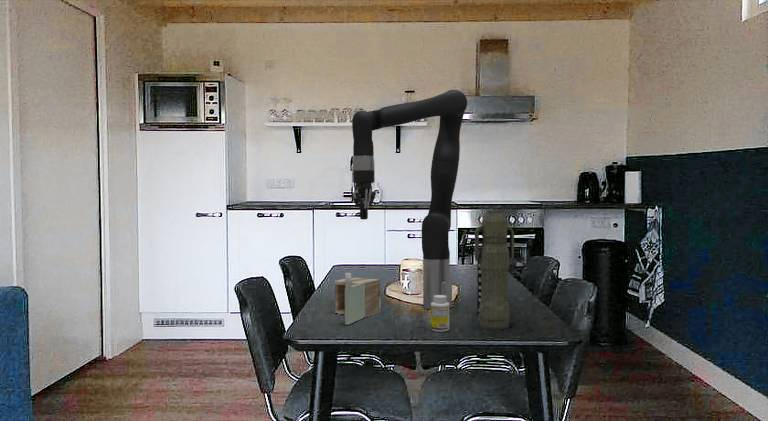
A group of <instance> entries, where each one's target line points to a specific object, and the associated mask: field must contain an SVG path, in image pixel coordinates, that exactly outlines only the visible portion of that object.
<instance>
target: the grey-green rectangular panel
mask: <svg viewBox="0 0 768 421" xmlns="http://www.w3.org/2000/svg"><path fill="white" fill-rule="evenodd" d="M344 274H345V275H344V279H345V315H344V324H345V325H347V326H348V325H350V324H353V323H355V322H357V321H360V320H362V319H365V318H366V317H365V283H364V282H363V283H359V284H356V285H353V286H351V277H352V273H351V272H345V273H344ZM364 317H365V318H364Z"/></svg>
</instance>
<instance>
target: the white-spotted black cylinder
mask: <svg viewBox="0 0 768 421" xmlns="http://www.w3.org/2000/svg"><path fill="white" fill-rule="evenodd" d="M479 257H480V253H479ZM476 265H477V266H476V269H477V270H476V273H477V274H476V278H477V279H476V280H477V281H476V282H477V283H476V287H477V288H476V291H477V292H476V294H477V296H476V306H477V307H476V310H477V311H476V316H477V317H479V318H480V302H481V269H480V262H479V261H476Z"/></svg>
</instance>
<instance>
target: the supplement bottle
mask: <svg viewBox="0 0 768 421" xmlns="http://www.w3.org/2000/svg"><path fill="white" fill-rule="evenodd" d="M433 301H434V302H432V303H431V309H430V328H431V330H432V331H433V332H436V333H437V332H438V333H446V332H449V330H450V329H451V328H450V326H451V325H450V323H451V322H450V320H451V319H450V318H451V315H450V305H449V303H448V302H447V296H445V295H435V296H433Z"/></svg>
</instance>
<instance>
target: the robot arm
mask: <svg viewBox="0 0 768 421" xmlns="http://www.w3.org/2000/svg"><path fill="white" fill-rule="evenodd" d="M467 107H468V99H467V97H466V95H465V94H464V92H462V91H461V90H458V89H449V90H448V91H445V92H443V93H440V94H437V95H435V96H431V97H428V98H425V99H420V100H415V101H410V102H403V103H398V104H394V105H393V104H392V105H387V106H384V107H380V108H379V109H375V110H370V111H367V110H363V109H362V110H359V111H357V112H355V113H354V114H353V116H352V120H351V128H352V138H353V148H352V149H353V150H352V151H353V156H352V183H354V184H355V186H354V189H355V190H354V192H351V194H350V195H351V198H352V200H353V202H354V204H355V207H357V208H358V209H359V217H360V218H359V219H360V220H369V219H368V218H369V217H368V216H369V208H370V207H372V206H373V202H374V200H375V198H376V195H377V193H376V191H373V186H372V184H374V183H375V178H376V177H375V155H374V150H375V149H374V148H375V147H374V140H373V131H376V130H381V129H383V128H391V127H397V126H401V125H406V124H410V123H413V122H416V121H420V120H425V119H428V118H433V117H439V125H438V126H439V128H438V134H437V137H436V141H435V144H434V145H435V146H434V150H433V154H432V158H431V159H432V160H431V168H430V187H431V188H430V190H431V191H430V192H431V195H430V196H431V198H430V204H429V208H428V209H429V210H428V213H427V215H426V216H425V217H424V218H423V220H422V222H421V250H422V257H423V258H422V265H423V266H422V280H423V281H422V283H423V284H422V297H423V298H422V303H423V306H422V307H423V308H424V309H427V310H431V303H432V302H434V301H433V296H435V295H445V296H447V302H448V303H449V305H450V308H453V280H451V279H450V278H451V273H450V272H451V270H450V268H451V267H450V266H451V265H450V264H451V261H450V258H451V255H450V254H451V252H450V246H449V233H450V231H451V228H452V227H451V226H452V220H451V219H452V201H453V195H454V191H455V188H456V184H457V182H456V181H457V176H458V171H459V165H460V163H459V162H460V152H461V150H460V149H461V148H460V147H461V146H460V145H461V144H460V138H461V137H460V134H461V127H462V123H463V118H464V114H465V112H466V110H467Z"/></svg>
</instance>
